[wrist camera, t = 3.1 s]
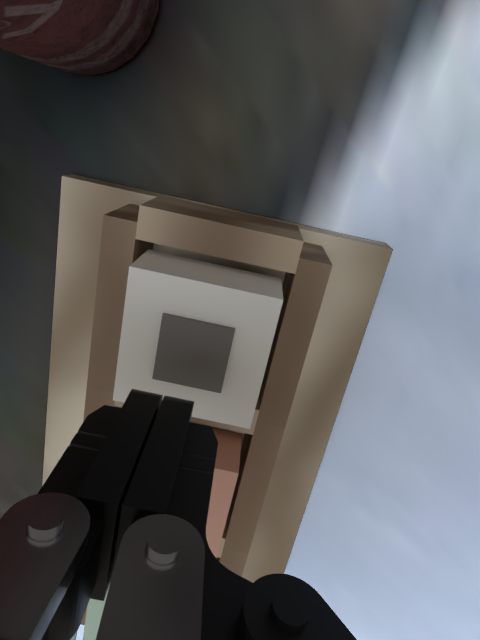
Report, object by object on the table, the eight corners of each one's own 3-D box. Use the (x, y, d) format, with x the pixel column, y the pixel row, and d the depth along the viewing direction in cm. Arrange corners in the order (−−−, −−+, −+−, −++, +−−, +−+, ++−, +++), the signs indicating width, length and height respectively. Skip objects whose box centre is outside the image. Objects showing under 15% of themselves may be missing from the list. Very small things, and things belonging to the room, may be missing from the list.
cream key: (281, 278, 17) (283, 301, 14) (251, 393, 19) (249, 432, 16) (148, 249, 17) (127, 267, 14) (131, 368, 19) (110, 403, 16)
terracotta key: (242, 433, 19) (238, 476, 17) (219, 522, 21) (213, 573, 19) (126, 409, 19) (105, 449, 17) (113, 500, 21) (93, 548, 19)
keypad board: (386, 241, 20) (418, 266, 16) (271, 591, 28) (271, 669, 24) (73, 171, 20) (21, 179, 16) (46, 546, 28) (7, 617, 24)
